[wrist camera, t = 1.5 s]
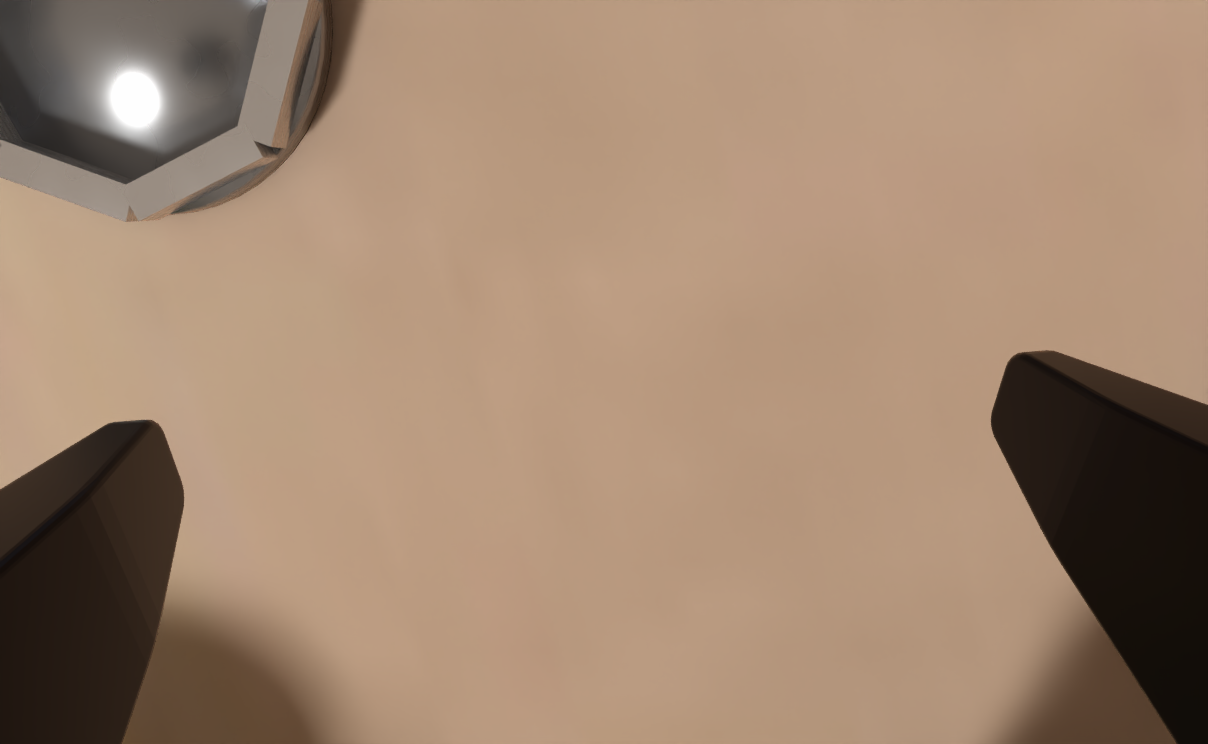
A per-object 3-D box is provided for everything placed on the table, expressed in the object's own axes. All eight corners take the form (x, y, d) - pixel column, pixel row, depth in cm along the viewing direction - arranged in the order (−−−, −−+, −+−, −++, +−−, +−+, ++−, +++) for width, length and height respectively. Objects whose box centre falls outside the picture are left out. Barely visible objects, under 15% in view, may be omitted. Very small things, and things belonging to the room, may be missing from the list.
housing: (379, -118, 18) (355, -146, 16) (276, 267, 20) (247, 274, 18) (-21, -271, 17) (-84, -315, 16) (-85, 138, 19) (-147, 134, 18)
